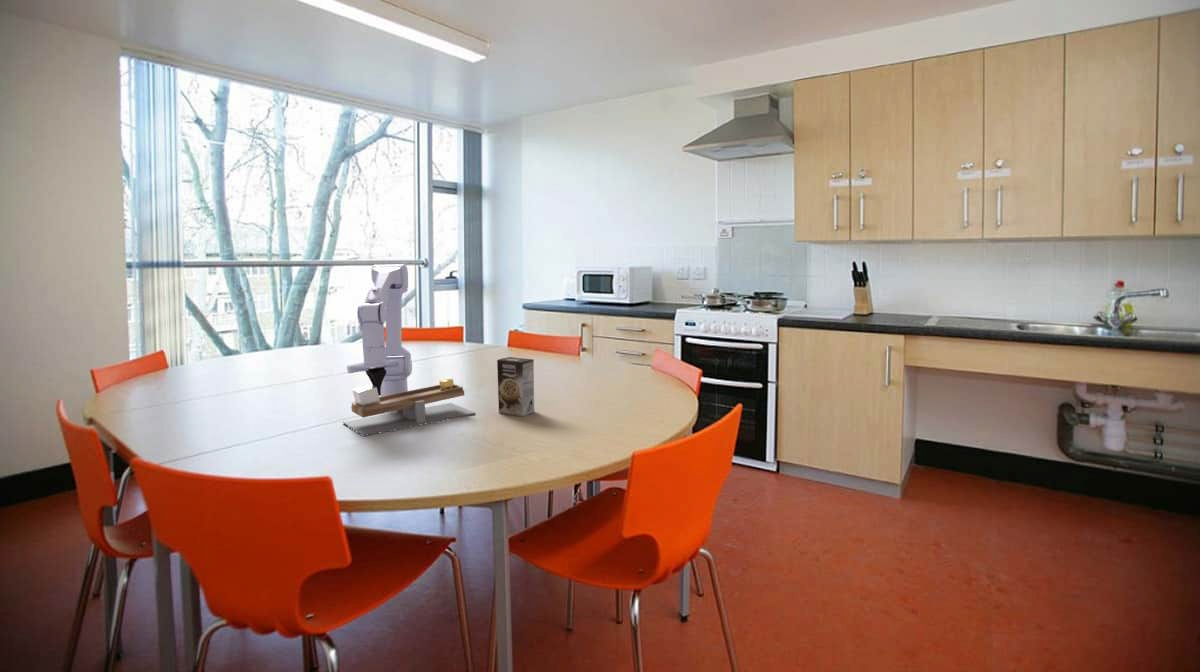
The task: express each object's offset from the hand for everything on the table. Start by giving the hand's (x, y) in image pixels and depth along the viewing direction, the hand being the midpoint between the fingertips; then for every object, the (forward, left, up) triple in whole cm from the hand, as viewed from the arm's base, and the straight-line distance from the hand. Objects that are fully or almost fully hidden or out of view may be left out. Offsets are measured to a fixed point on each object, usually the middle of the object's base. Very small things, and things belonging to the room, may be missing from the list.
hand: (377, 395), depth 178 cm
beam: (0, +9, -3) cm, 10 cm away
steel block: (0, -2, -3) cm, 4 cm away
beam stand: (0, +9, -9) cm, 13 cm away
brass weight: (0, +21, -2) cm, 21 cm away
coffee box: (+14, +36, -9) cm, 40 cm away
